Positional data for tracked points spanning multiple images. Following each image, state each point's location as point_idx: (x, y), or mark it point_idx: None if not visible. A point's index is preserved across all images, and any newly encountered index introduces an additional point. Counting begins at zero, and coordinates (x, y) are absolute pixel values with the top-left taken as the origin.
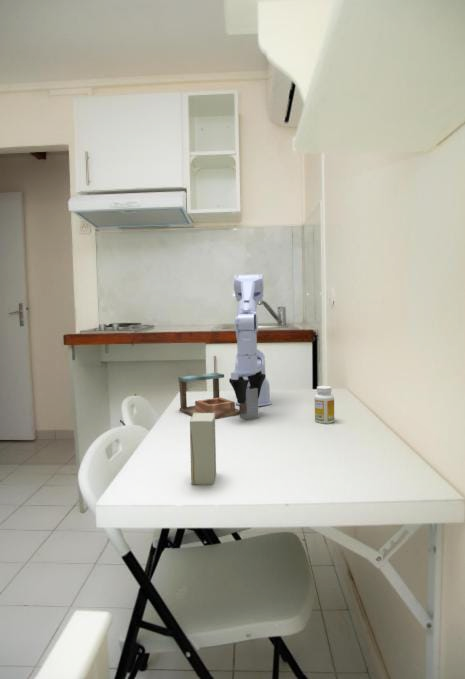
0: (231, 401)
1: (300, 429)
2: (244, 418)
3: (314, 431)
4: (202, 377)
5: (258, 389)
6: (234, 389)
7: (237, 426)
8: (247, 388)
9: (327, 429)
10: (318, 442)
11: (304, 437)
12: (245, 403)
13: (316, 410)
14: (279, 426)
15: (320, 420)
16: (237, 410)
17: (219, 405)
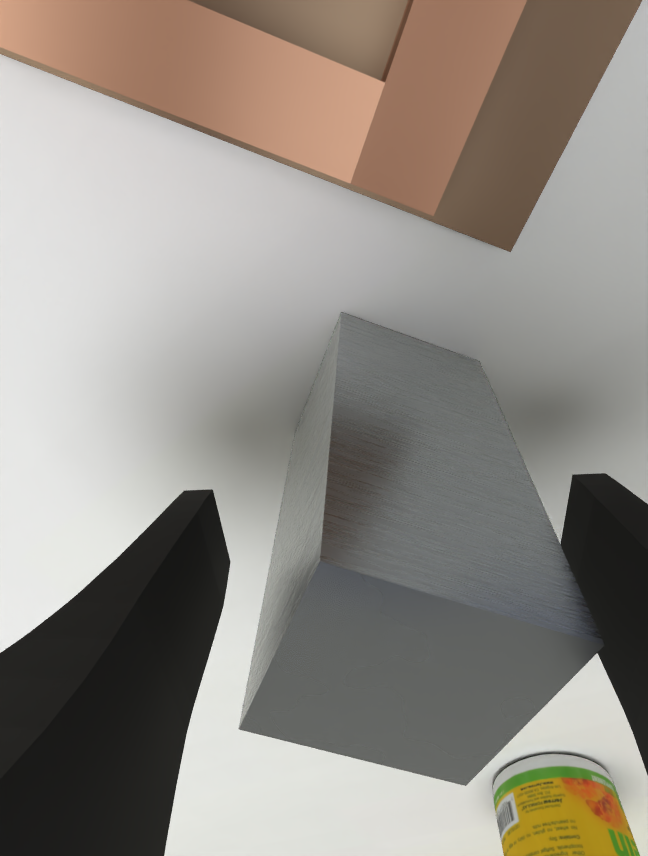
0: (447, 124)
1: (316, 753)
2: (309, 400)
3: (325, 797)
4: None
5: (617, 683)
6: (34, 648)
7: (94, 474)
8: (343, 704)
9: (392, 819)
10: (189, 837)
11: (208, 795)
12: (281, 529)
13: (519, 852)
14: None
15: (494, 799)
16: (503, 166)
17: (130, 95)
